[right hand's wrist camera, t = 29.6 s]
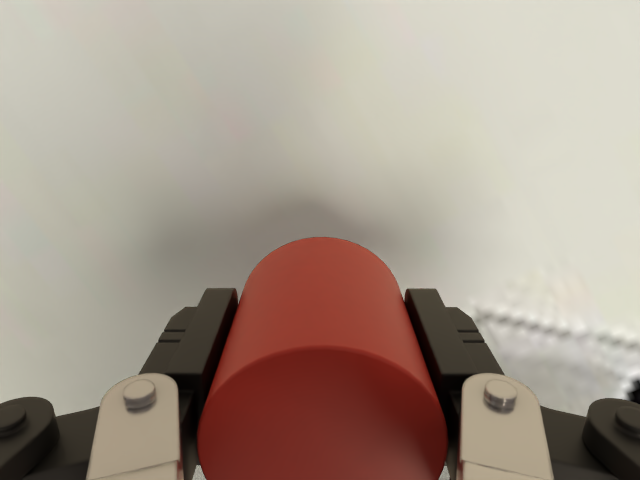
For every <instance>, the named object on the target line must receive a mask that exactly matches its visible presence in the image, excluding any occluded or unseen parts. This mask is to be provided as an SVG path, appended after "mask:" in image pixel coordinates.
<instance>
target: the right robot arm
mask: <svg viewBox="0 0 640 480" xmlns="http://www.w3.org/2000/svg"><path fill="white" fill-rule="evenodd" d="M404 303H405V306H406V309H407V312H408V314H409V317H410V320H411V323H412V326H413V329H414V331H415V334H416V337H417V340H418V343H419V346H420V349H421V351H422V354H423V357H424V360H425V363H426V366H427V369H428V371H429V374H430V377H431V380H432V383H433V386H434V389H435V391H436V394H437V397H438V400H439V403H440V406H441V409H442V411H443V414H444V418H445V422H446V426H447V431H448V449H447V457H446V460H445V464H444V466H447V468H448V471H449V475H450V479H449V480H640V404H637V403H634V402H631V401H627V400H622V399H615V398H605V399H600V400H597V401H595V402H593V403H592V404H591V405H590V406H589V409H588V413H587V417H584V416H579V415H574V414H570V413H565V412H561V411H556V410H553V409H549V408H546V407H543V406H540V404H539V401H538V398H537V397H536V395H535V394H534V393H533V391H532V390H531V389H529V388H528V387H527V386H526V385H524V384H523V383H521V382H519V381H517V380H515V379H513V378H511V377H508V376H505V375H504V373H503V371H502V369H501V368H500V366H499V364H498V363H497V361H496V359H495V358H494V356H493V354H492V352H491V351H490V349H489V347H488V346H487V344H486V343H485V342H484V339H483V337H482V335H481V334H480V333H479V332H478V329H477V327H476V325H475V323H474V322H473V320H472V318H471V317H469V316H468V315H467V314H465V313H464V312H463V311H461V310H460V309H459V308H457V307H445V305H444V303H443V301H442V300H441V298H440V296H439V294H438V292H437V290H436V289H407V290H406V293H405V300H404ZM237 307H238V296H237V291H236V289H235V288H207V289H206V290H205V292H204V294H203V296H202V298H201V300H200V302H199V304H198V306H197V307H185V308H184V309H182V310H181V311H180V312H178V313H177V314H175V315H174V316H173V317H171V319H170V321H169V323H168V324H167V326H166V328H165V330H164V332H163V333H162V335H161V336H160V338H159V340H158V343H156V345H155V347H154V349H153V350H152V352H151V354H150V355H149V357H148V359H147V361H146V362H145V364H144V366H143V368H142V369H141V371H140V373H139V375H135V376H132V377H129V378H127V379H125V380H123V381H121V382H119V383H117V384H116V385H114V386H113V387H112V388H111V389H109V390H108V391H107V393H106V394H105V395H104V397H103V398H102V401H101V404H100V406H99V407H96V408H92V409H89V410H84V411H80V412H75V413H71V414H66V415H62V416H57V417H56V416H55V413H54V409H53V406H52V404H51V403H50V402H49V401H48V400H46V399H43V398H39V397H23V398H18V399H13V400H10V401H7V402H4V403H1V404H0V480H192V478H193V475H194V472H195V468H196V465H200V462H199V457H198V451H197V431H198V425H199V420H200V417H201V414H202V411H203V408H204V406H205V403H206V400H207V397H208V394H209V391H210V388H211V385H212V382H213V379H214V376H215V373H216V370H217V367H218V364H219V361H220V358H221V355H222V352H223V349H224V346H225V343H226V340H227V337H228V334H229V331H230V328H231V325H232V322H233V319H234V316H235V313H236V310H237Z"/></svg>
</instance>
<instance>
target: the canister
mask: <svg viewBox="0 0 640 480" xmlns="http://www.w3.org/2000/svg"><path fill="white" fill-rule="evenodd" d="M447 449H448V431H447V426H446V422H445V418H444V414H443V411H442V409H441V406H440V403H439V400H438V397H437V394H436V391H435V389H434V386H433V383H432V380H431V377H430V374H429V371H428V369H427V366H426V363H425V360H424V357H423V354H422V351H421V349H420V346H419V343H418V340H417V337H416V334H415V331H414V329H413V326H412V323H411V320H410V317H409V314H408V312H407V309H406V306H405V303H404V300H403V297H402V294H401V292H400V289H399V286H398V284H397V281H396V279H395V277H394V276H393V274H392V272H391V271H390V269H389V268H388V267H387V266H386V265H385V263H384V262H383V261H382V260H380V259H379V258H378V257H377V256H376V255H375V254H373V253H372V252H370V251H369V250H367V249H366V248H364V247H362V246H360V245H358V244H355V243H352V242H350V241H347V240H342V239H338V238H329V237H313V238H306V239H301V240H297V241H294V242H291V243H288V244H286V245H283V246H281V247H279V248H278V249H276V250H274V251H273V252H271V253H270V254H269V255H267V256H266V257H265V258H264V259H263V260H262V261H261V262H260V263H259V264H258V265H257V266H256V267H255V268H254V270H253V271H252V273H251V274H250V276H249V278H248V280H247V281H246V284H245V287H244V289H243V292H242V295H241V298H240V301H239V304H238V307H237V310H236V313H235V316H234V319H233V322H232V325H231V328H230V331H229V334H228V337H227V340H226V343H225V346H224V349H223V352H222V355H221V358H220V361H219V364H218V367H217V370H216V373H215V376H214V379H213V382H212V385H211V388H210V391H209V394H208V397H207V400H206V403H205V406H204V408H203V411H202V414H201V417H200V420H199V425H198V431H197V451H198V457H199V462H200V465H201V468H202V471H203V474H204V476H205V478H206V480H438V479H439V477H440V475H441V473H442V470H443V468H444V464H445V460H446V457H447Z"/></svg>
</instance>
